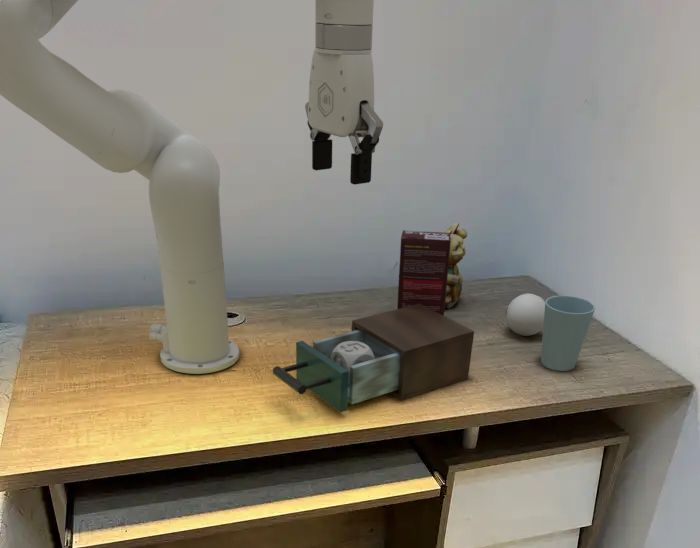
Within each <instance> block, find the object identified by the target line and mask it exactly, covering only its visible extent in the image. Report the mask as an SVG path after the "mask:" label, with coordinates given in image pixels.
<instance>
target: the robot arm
mask: <svg viewBox="0 0 700 548" xmlns="http://www.w3.org/2000/svg"><path fill="white" fill-rule="evenodd" d="M78 1H79V0H0V96H1V97H3V98H4V99H6V101H8V102H9V103H11V104H12V105H13V106H15V107H16V108H18V109H19V110H21V111H22V112H24V113H25V114H26V115H28V116H29V117H31V118H32V119H33V120H35V121H37V122H38V123H40V124H41V125H42V126H43V127H45V128H46V129H47V130H49V131H50V132H52V133H53V134H54V135H56V136H57V137H59V138H60V139H62V140H63V141H65V142H66V143H67V144H69V145H70V146H72V147H73V148H75V149H76V150H78V151H79V152H81V153H82V155H83V154H84V155H85V156H86V157H88V158H89V159H90V160H92V161H93V162H94V163H95V164H97V165H98V166H100V167H102V168H103V169H105V170H107V171H110V172H113V173H119V174H123V173H124V174H126V173H129V172H131V171H135V172H137V173H138V174H140V175H141V176H142V177H144V179H145V178H146V180H148V181H149V183H148V198H149V206H150V211H151V218H152V223H153V227H154V232H155V233H154V234H155V240H156V241H155V242H156V248H157V255H158V256H157V257H158V264H159V270H160V278H161V287H162V298H163V305H164V315H165V322H166V325H164V324H160V323H156V322H153V323H151V325H150V328H149V333H148V339H149V340H150V341H152V342H153V341H154V342H161V344H162V346H163V347H162V348H161V350H160V353H159V356H160V362H161V363H162V365H163V366H165V368H167V369H169V370H171V371H174V372H176V373H177V372H178V373H182V374H189V375H190V374H191V375H201V374H210V373H217V372H219V371H223V370H225V369H228V368H230V367H232V366H233V365H235V364H236V363H237V362H238V360H239V359H240V348H239V345H237V343H236V342H234V341H233V340H231V339H230V336H229V321H228V320H229V319H228V308H227V306H228V305H227V293H226V291H227V289H226V278H225V275H226V274H225V262H224V249H223V238H222V237H223V236H222V224H221V210H220V209H221V207H220V206H221V205H220V185H221V184H220V183H221V182H220V181H221V170H220V166H219V162H218V159H217V157H216V156H215V154H214V152H213V151H212V149H211V148H210V147H209V146H208V145H207V144H206V143H204V142H203V141H202V140H201V139H200V138H198V137H197V136H195V135H194V134H193V133H191V132H190V131H189V130H188V129H186V128H184V127H183V126H182V125H180V124H179V123H178V122H177V121H175V120H174V119H172V118H171V117H170V116H168V115H167V114H166V113H164V112H163V111H162V110H160V108H158V107H156V106H155V105H154V104H153V103H151V102H150V101H149V100H146V98H144V97H142V96H140V95H138V94H137V93H134V92H131V91H129V90H125V89H112V90H111V89H110V90H106V89H105V88H104V87H102V86H100V85H99V84H98V83H96V82H95V81H93V80H92V79H90V78H89V77H87V76H86V75H85V74H83V72H81V71H80V70H78V69H77V68H76V67H75V66H73V65H72V64H71V63H69V62H68V61H66V60H65V59H63V58H61V57H60V56H58V55H56V54H54V53H53V52H52V51H51V50H49V49H48V48H47V47H45V46H44V45H43V44H42V42H41V41H40V39H42V38H43V37H44V36H46V35H47V34H48V33H50V32H51V30H53V28H55V26H57V24H58V23H60V21H61V20H62V19H63V18H64V17H65V16H66V15H67V14H68V12H69V11H70V10H71V9H72V8H73V7H74V6H75V5H76V4H77V3H78ZM374 1H375V0H315V24H314V26H315V27H314V34H315V35H314V36H315V37H314V42H315V43H314V49H313V53H312V58H311V65H310V73H309V83H308V102H306V103H305V104H304V110H305V114H306V117H307V118H306V119H307V126H308V128H309V131H310V133H309V138H310V140H311V162H312V163H311V168H312V170H313V171H324V170H330V169H332V168H333V139H331V138H330V137H331V136H332V135H333V136H335V137H339V138H346V137H348V139H349V141H350V144H351V146H352V150H353V153H350V173H349V174H350V176H349V177H350V178H349V180H350V184H351V185H361V184H369V183H371V181H372V163H373V154H374V153H375V152H376V146H377V145H378V144H379V143H380V136H381V133H382V131H383V129H384V122H383V120H382V119H381V118H380V116H379V115H378V114H377V112H375V76H374V62H373V53H372V52H373V51H372V50H373V49H372V48H373V29H374V27H373V26H374V25H373V24H374V3H375V2H374ZM360 138H362V139H361V141H360Z"/></svg>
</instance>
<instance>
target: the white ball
mask: <svg viewBox="0 0 700 548" xmlns="http://www.w3.org/2000/svg"><path fill="white" fill-rule="evenodd" d="M501 303H503V304H506V305H508V306H507V309H506V310H505V320H506V322H507V325H508V327H509V328H510V330H511V331H512V332H513V333H515V334H517V335H519V336H523V337H528V336H535V335H536V334H538V333H539V332H541V331H543V327H544V313H545V300H544V299H543V297H541V296H539V295H537V294H534V293H523V294H520V295H518V296H516V297H515V298H513V299H512V300H511V301H510V303H507V302H503V301H501Z"/></svg>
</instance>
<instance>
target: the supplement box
mask: <svg viewBox="0 0 700 548" xmlns="http://www.w3.org/2000/svg"><path fill="white" fill-rule="evenodd" d="M450 244H451V238H450V233H444V232H441V231H421V230H420V231H419V230H407V229H406V230H404V229H403V230H402V233H401V236H400V247H399V249H400V250H399V266H398V267H399V269H398V286H397V287H398V288H397V303H396V305H397V308H396V309H400V308H404V307H408V306H412V305H416V304H421V305H423V306H425V307H427V308H429V309H431V310H433V311H435V312H437V313H439V314H441V315H443V316H445V310H446V308H445V299H446V288H447V277H448V266H449V255H450Z"/></svg>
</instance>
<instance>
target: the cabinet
mask: <svg viewBox="0 0 700 548" xmlns="http://www.w3.org/2000/svg"><path fill="white" fill-rule="evenodd" d="M359 329H360V330H361V331H363V332H365V333H366V334H368V335H370V336H371V337H373V338H375V339H376V340H378V341H380V342H382V343H383V344H385V345H387V346H388V347H390V348H392V349H393V350H395V351H397V352H399V353H400V354H401V365H400V378H399V389H398V390H395V391H392V392H389V393H388V394H390V395H392V396H393V397H395V398H397V399H398V400H399V401H404V400H408V399H410V398H414V397H417V396H420V395H422V394H426V393H429V392H432V391H434V390H438V389H441V388H445V387H446V386H449V385H452V384H456V383H459V382H462V381H465V380H468V379H469V374H470V365H471V360H472V359H471V358H472V351H473V343H474V336H475V331H474V330H473V329H470V328H469V327H467V326H464V325H463V324H460V323H458V322H457V321H455V320H453V319H451V318H449V317H447V316H445V315H444V316H443V315H441V314H439V313H437V312H435V311H433V310H431V309H429V308H427V307H425V306H423V305H421V304H416V305H412V306H408V307H404V308H400V309H397V308H396V309H392V310H388V311H385V312H379V313H376V314H372V315H369V316H364V317H360V318H355V319H353V320H351V331H355V330H359Z"/></svg>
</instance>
